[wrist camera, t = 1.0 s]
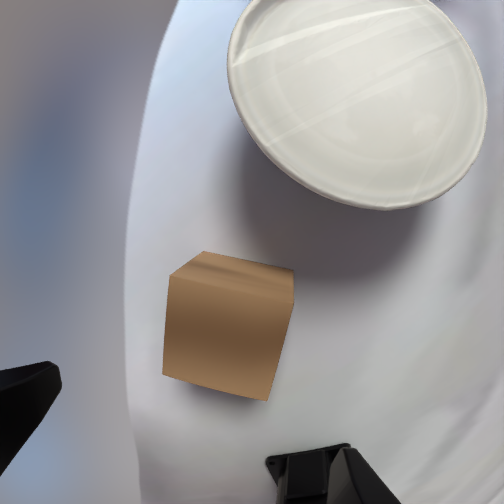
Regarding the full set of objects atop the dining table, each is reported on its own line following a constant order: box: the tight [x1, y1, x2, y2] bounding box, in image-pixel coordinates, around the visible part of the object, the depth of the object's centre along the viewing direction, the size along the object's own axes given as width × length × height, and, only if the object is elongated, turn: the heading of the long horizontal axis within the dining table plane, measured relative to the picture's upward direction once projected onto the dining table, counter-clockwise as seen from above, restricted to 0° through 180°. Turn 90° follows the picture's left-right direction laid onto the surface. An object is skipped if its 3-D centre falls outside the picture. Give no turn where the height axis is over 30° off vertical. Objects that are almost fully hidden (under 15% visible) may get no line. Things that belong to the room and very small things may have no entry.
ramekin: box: [227, 0, 487, 211], centre depth 12 cm, size 11×11×5 cm
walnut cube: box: [162, 251, 294, 401], centre depth 15 cm, size 5×5×5 cm
